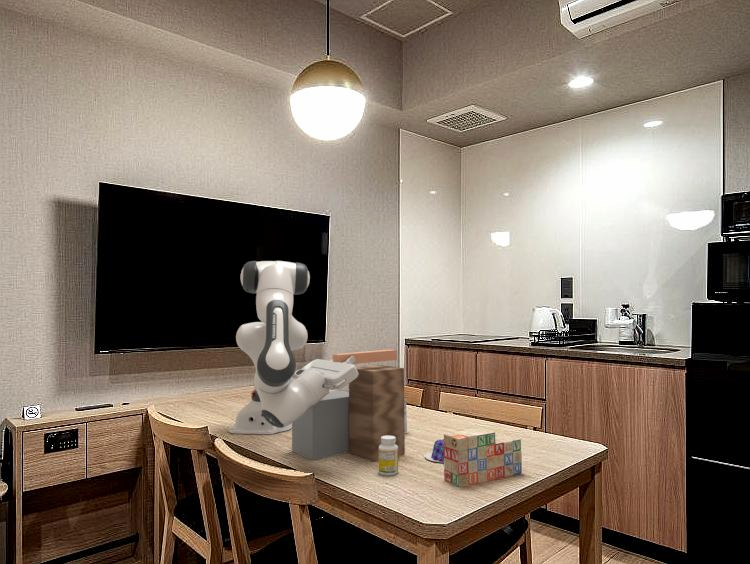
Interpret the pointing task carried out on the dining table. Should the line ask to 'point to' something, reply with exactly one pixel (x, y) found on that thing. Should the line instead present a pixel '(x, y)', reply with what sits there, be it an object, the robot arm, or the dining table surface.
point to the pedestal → (323, 427)
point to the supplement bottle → (388, 456)
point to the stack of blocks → (480, 456)
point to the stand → (376, 410)
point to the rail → (367, 356)
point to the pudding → (437, 451)
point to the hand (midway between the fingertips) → (348, 357)
